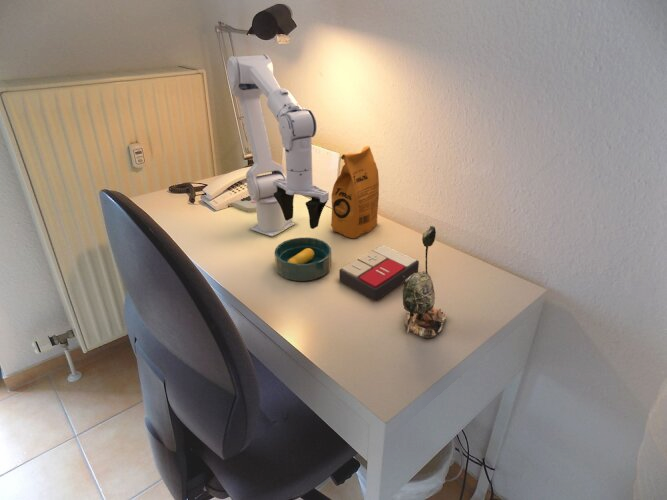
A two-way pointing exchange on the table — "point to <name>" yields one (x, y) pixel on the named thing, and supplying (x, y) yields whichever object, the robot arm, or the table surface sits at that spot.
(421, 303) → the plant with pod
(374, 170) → the coffee package
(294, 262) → the amber tube
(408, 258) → the calculator
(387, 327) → the table surface
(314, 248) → the teal bowl
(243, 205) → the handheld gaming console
